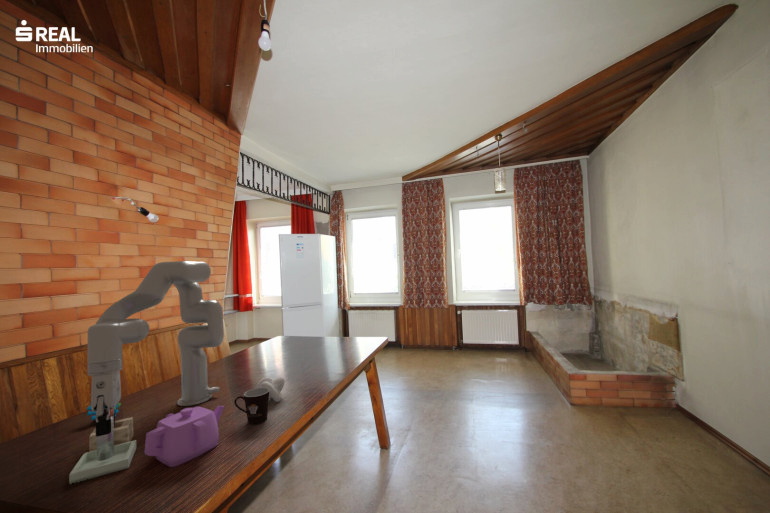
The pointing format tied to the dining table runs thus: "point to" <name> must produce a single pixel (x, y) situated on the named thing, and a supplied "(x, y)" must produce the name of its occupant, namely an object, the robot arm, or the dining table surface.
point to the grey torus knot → (272, 387)
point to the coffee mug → (255, 405)
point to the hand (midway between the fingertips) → (105, 430)
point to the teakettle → (184, 435)
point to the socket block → (115, 433)
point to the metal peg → (106, 442)
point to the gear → (95, 411)
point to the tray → (103, 463)
